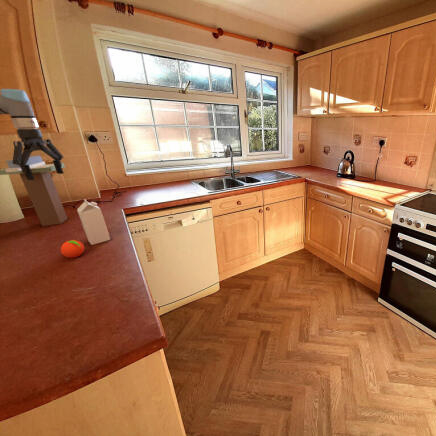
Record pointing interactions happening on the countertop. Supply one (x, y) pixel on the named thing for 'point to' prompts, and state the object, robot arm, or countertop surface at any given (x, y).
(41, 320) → the countertop surface
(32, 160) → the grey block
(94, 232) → the milk carton
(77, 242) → the clementine
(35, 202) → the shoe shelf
